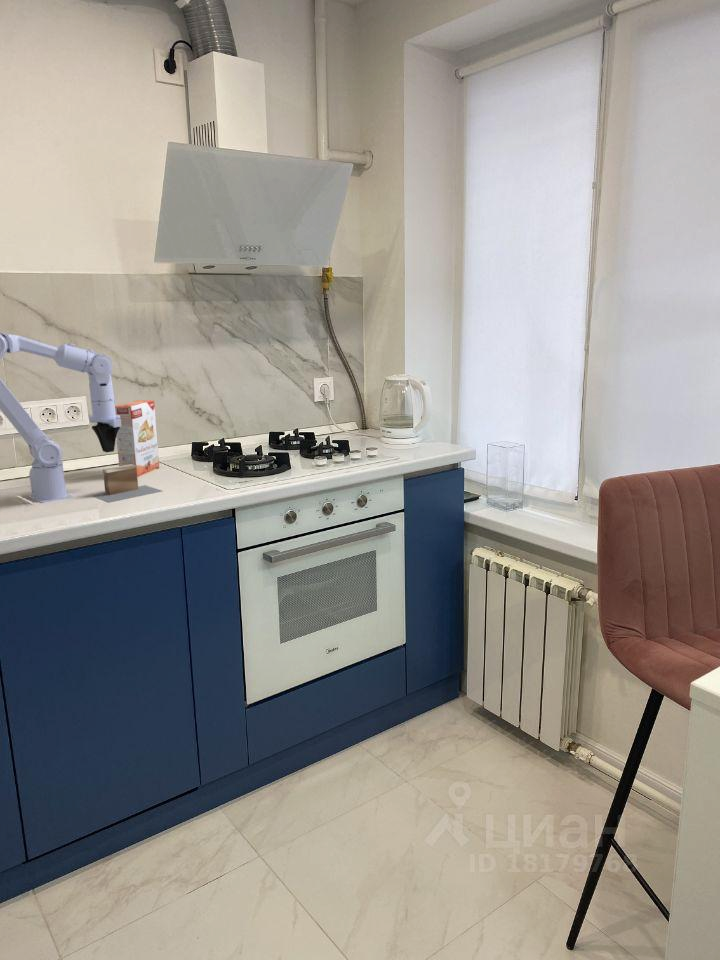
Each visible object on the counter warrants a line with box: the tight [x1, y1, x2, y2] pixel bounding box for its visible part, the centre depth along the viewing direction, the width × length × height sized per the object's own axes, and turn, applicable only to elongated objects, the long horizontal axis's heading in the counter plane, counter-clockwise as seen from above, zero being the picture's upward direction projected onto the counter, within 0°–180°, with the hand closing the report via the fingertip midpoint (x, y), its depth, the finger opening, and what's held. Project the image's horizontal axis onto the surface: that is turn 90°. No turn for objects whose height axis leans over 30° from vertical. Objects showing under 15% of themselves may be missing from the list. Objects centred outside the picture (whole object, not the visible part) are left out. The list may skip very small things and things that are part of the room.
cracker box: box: [115, 399, 160, 478], centre depth 210 cm, size 14×6×21 cm, turn 168°
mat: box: [92, 484, 163, 504], centre depth 187 cm, size 10×15×1 cm, turn 134°
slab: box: [102, 464, 139, 495], centre depth 188 cm, size 2×8×6 cm, turn 134°
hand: (108, 451), depth 191 cm, fingers closed
